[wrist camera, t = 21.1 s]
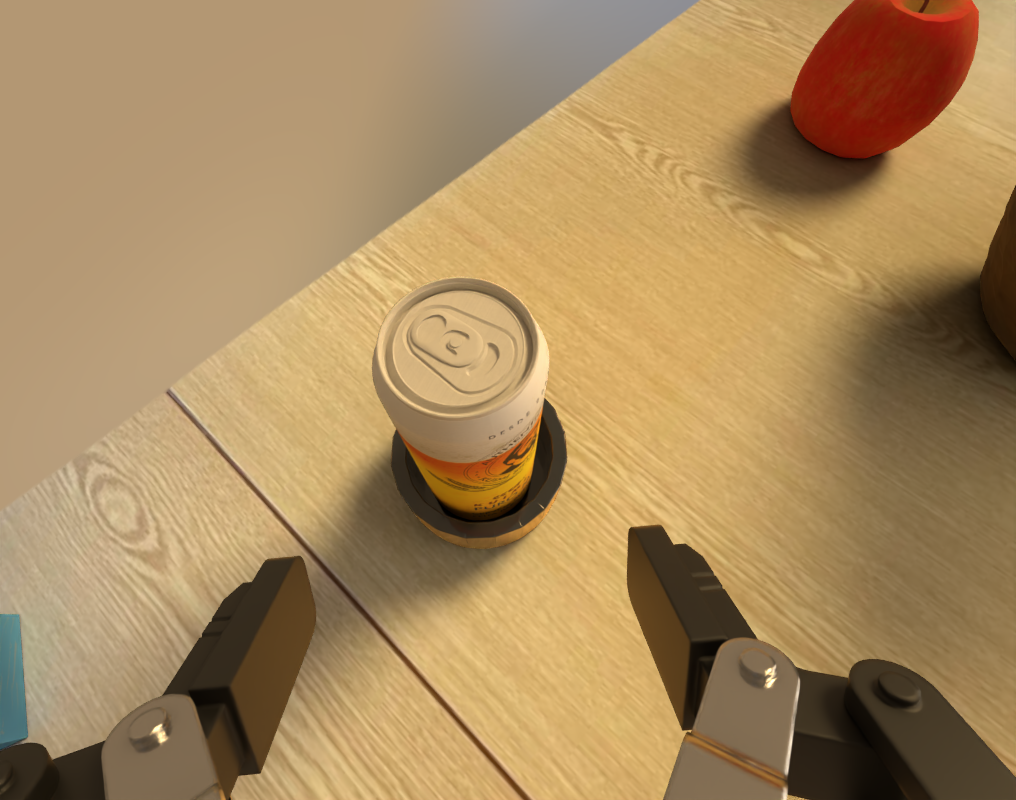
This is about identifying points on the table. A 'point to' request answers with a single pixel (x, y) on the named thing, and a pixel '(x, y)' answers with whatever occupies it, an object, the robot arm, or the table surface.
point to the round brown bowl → (501, 528)
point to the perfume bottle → (11, 683)
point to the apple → (883, 73)
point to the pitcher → (1002, 280)
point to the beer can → (465, 390)
